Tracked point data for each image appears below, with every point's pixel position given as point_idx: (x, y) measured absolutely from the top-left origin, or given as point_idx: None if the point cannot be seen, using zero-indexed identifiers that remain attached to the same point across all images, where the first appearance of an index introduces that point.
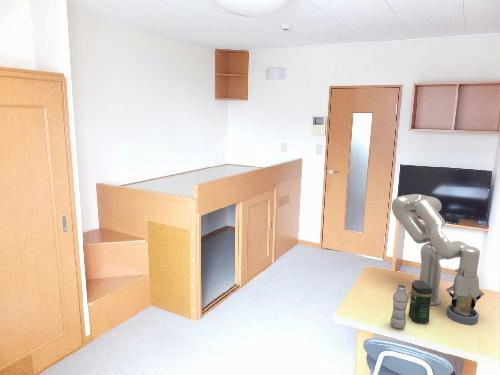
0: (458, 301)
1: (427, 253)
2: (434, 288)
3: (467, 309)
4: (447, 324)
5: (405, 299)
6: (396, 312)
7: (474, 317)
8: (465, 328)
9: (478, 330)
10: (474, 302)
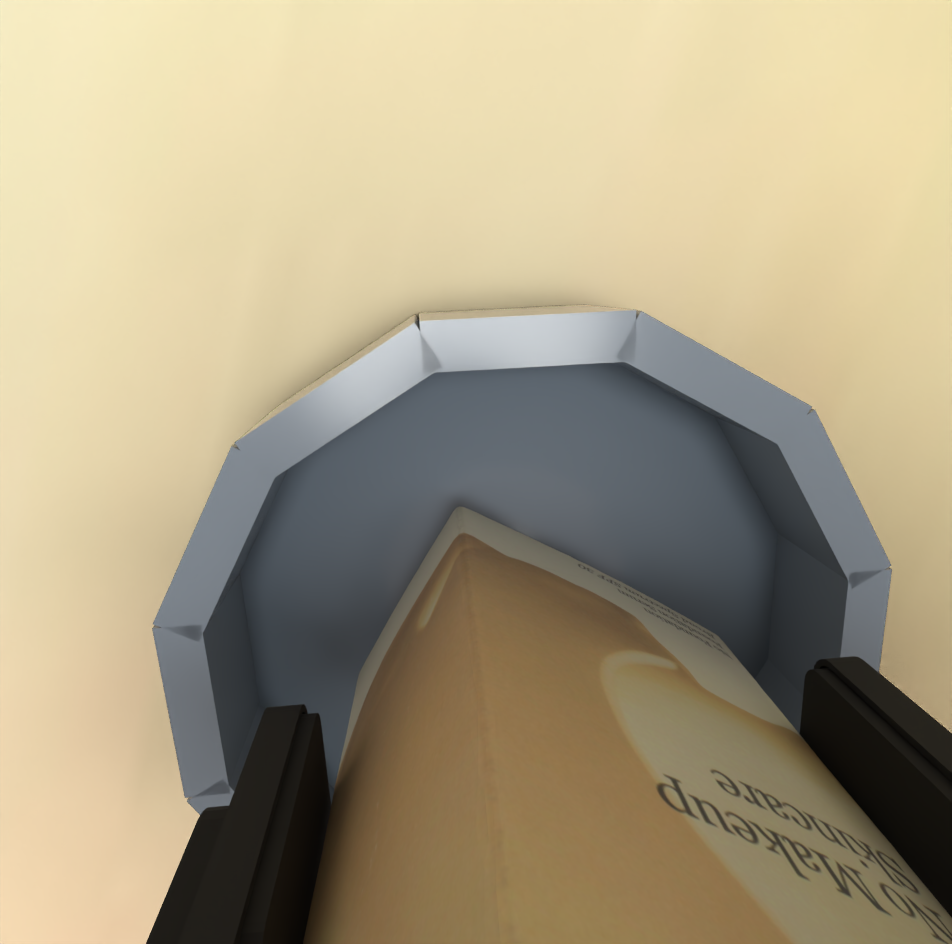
0: (859, 850)
1: None
2: None
3: (500, 594)
4: (914, 206)
5: None
6: None
7: (319, 391)
8: (575, 119)
9: (296, 97)
10: (203, 922)
